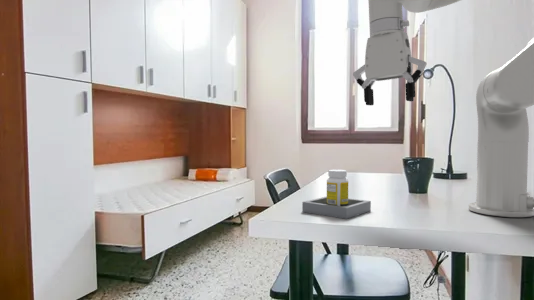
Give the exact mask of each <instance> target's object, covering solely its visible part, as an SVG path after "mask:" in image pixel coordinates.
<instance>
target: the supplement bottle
mask: <svg viewBox="0 0 534 300" xmlns="http://www.w3.org/2000/svg"><path fill="white" fill-rule="evenodd" d="M327 175H328V177H329V178H327V179H326V197H327V204H328V205H335V206H342V207H346V206H348V198H349V180H348V179H347V175H348V171H347V170H346V169H329V170H328V174H327Z"/></svg>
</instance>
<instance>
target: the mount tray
mask: <svg viewBox="0 0 534 300" xmlns="http://www.w3.org/2000/svg"><path fill="white" fill-rule="evenodd" d="M371 205H372V203H371V200H365V199H356V198H349V197H348V206H346V207H342V206H335V205H328V204H327V196H323V197H318V198H314V199H309V200H305V201H302V209H301V210H302V213H307V214H314V215H320V216H321V215H322V216H327V217H334V218H340V219H344V220H345V219H346V220H347V219H350V218H351V219H352V218H354V217H357V216H360V215H363V214H365V213H368V212H371V211H372V210H371V208H372V207H371Z"/></svg>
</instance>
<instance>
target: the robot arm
mask: <svg viewBox="0 0 534 300" xmlns="http://www.w3.org/2000/svg"><path fill="white" fill-rule="evenodd" d="M460 1H462V0H368V20H369V21H368V22H369V37H368V38H367V39H366V45H365V57H364V58H365V59H364V64H363V65H362V66H360V67H359V68H357V70H355V71H354V72H353V73H352V75H353V77H354V79H355V81H356V83H357V84H358V85H359V87H361V89H363V99H364V102H365V105H366V106H374V102H375V101H374V89H373V88H372V87H373V85H374V84H375V83H376V81H377V82H381V81H382V82H383V81H390V80H396V79H402V78H404V79H405V80H406V82H405V85H404V87H405V88H404V89H405V101H407V102H414V98H415V97H416V83H417V82H418V80H419V79H420V78H421V77H422V76H423V72H424V71H425V69H426V67H427V62H426V61H425V60H422V59H419V58H416V57H413V56H412V51H411V50H412V49H411V45H410V40H409V36H408V32H406V31H405V28H407V27H409V26H410V21H409V20H404V19H403V18H404V16H403V9H405V10H406V11H407V12H409V13H414V14H415V13H416V14H417V13H423V12H424V13H425V12H428V11H432V10H435V9H439V8H443V7H446V6H450V5H452V4H455V3H458V2H460ZM413 64H414V65H417V67H416V70H415V71H414V72H413ZM364 73H365V74H364ZM363 74H364V75H365V80H364V78H363V77H362V75H363ZM475 102H476V103H475V105H476V113H477V147H476V148H477V153H476V155H477V156H476V157H477V158H476V193H475V194H476V198H475V199H476V200H475V202H471V203H469V204H468V209H469V211H471V212H474V213H477V214H481V215H485V216H486V215H487V216H494V217H504V218H530V217H534V196H533V197H532V196H531V192H530V191H528V166H529V165H528V163H529V162H528V160H529V159H528V157H529V142H530V141H529V138H530V137H529V136H530V135H529V134H530V133H529V131H530V130H529V129H530V128H529V127H530V126H529V119H528V112H527V108H529V107H530V108H531V107H532V106H534V37H532V38H531V39H530V40H529V41H528V42H527V44H526V45H525V46H524V48H523V49H522V50H521V51H520V52H519V53H518V54H516V55H515V56H514V57H513V58H512V59H510V60H509V61H507V62H506V63H505V64H503V66H501V67H498V68H496V69H494V70H493V71H492V70H491V72H490V73H488V74H487V75H485V76H484V77H483V78H482V79H481V81H480V83H479V84H478V86H477V89H476V95H475Z"/></svg>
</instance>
